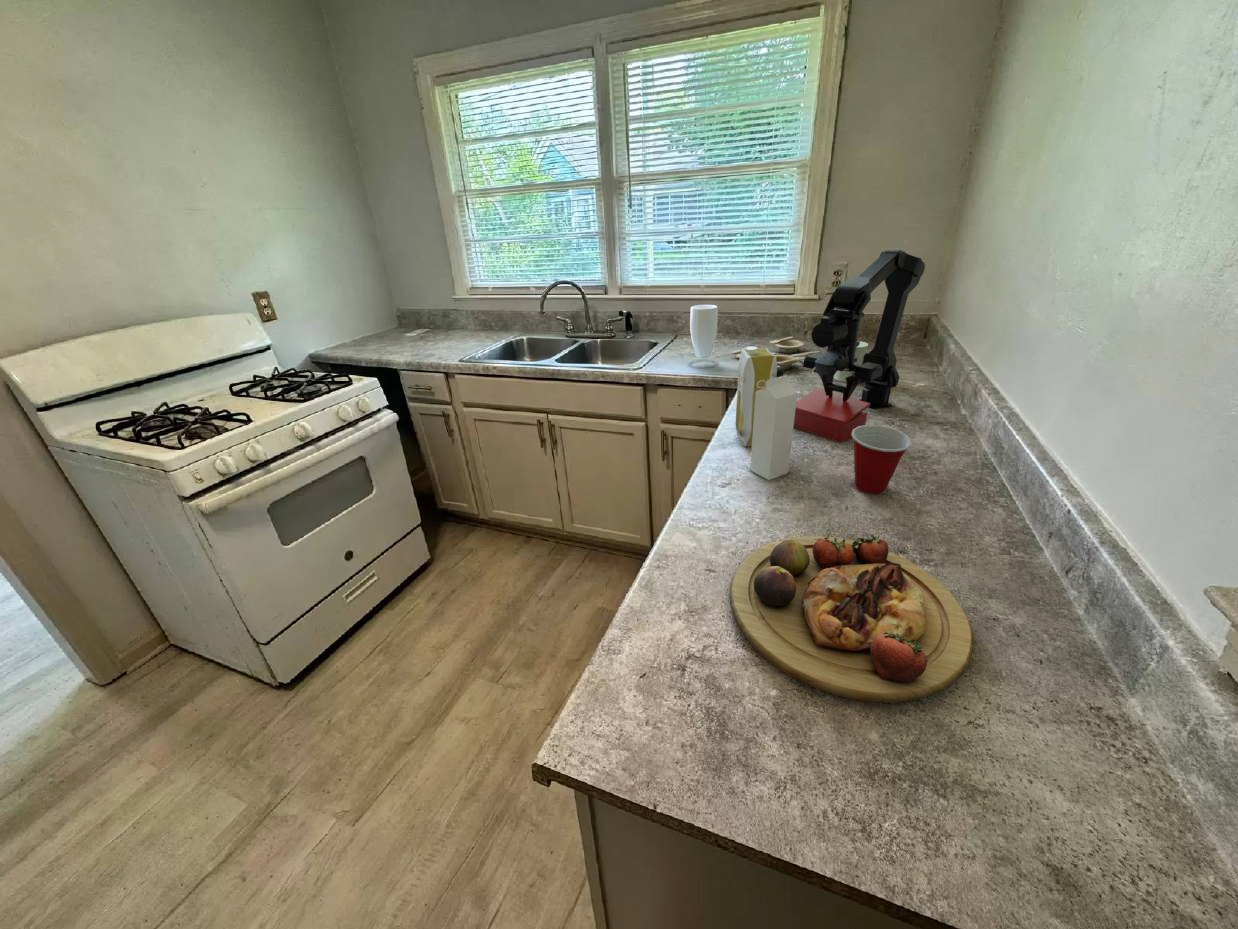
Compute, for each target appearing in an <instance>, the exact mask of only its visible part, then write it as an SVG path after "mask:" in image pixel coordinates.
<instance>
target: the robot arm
mask: <svg viewBox="0 0 1238 929" xmlns="http://www.w3.org/2000/svg"><path fill="white" fill-rule="evenodd" d="M925 270H926V263H925V262H924V261H923V259H922V258H921V257H919V256H918V257H917V256H915V255H912V254H908V253H907V252H906V251H904V250H902V249H885V250H883V251H881V252H880V254H879V256H878V258H876V260H874V261H873V262H872V263H871V264H870V265H869V266H868V267H867V268H866V269H865V270H864V271H863V272H861V273H860V274H859V275H857V277H855V278H852V279H848V280H846V281H845V280H844V282H842V283H840V284H839V285H837V286H836V287H835V289H834V290H833V292H832V294H831V296H830V298H829V300H828V303H827V304H826V307H825V309H824V311H823V313H822V316H823V317H821V318H820V322H819V323H818V324H816V325H815V326H814V327H813V329H812V331H811V341H812V343H813V344H814V346H817V347H818V348H822V349H823V348H824V349H825V348H826V351H825V352H823V353H822V352H821V353H814V354H811V355H808V356H806V357H805V358H804V360H803V362H802V368H805V369H809V370H812V371H813V372H814V373H815V374H817V375H818V376H819V377H820V380H821V382H822V386H823V390H824V392H825V393H826V396H829V390H828V388H827V387H828V384H829V383H833V384H834V380H835V379H834V374H835V373H836V372H837V371H843V370H844V371H849V372H851V376H848V377H846V378H845V379H846V381H847V382H846V385H845V386H846V391H845V401H847V400H848V399H849V398H851V396H852V395H853V393H854V392H855V390H856V388H857V387H858V385H859V384H860V383H864V387H863V388H862V392H861V398H859V399H858V400H859V401H863V402H867V403H870V406H869V407H868V408H870V409H877V408H885V407H892V406H893V403H891V402H889V401H890V396H891V391H892V388H897V385H899V384H898V383H899V381H900V378H901V377H900V375H899V372H898V370H897V367H896V366H897V362H898V359H897V357H896V354H895V351H894V348H895V344H896V341H897V336H898V333H899V330H900V326H901V323H902V319H903V315H904V312H905V309H906V304H907V300H908V298H909V294H910V293H911V292H912V291H913V290H914V289H916V287H917V286H918V285H919V283H920V280H921V279H922V278H921V277H922V276H923V275H924V272H925ZM883 282H884V285H885V288H886V290H887V296H886V300H885V304H884V308H883V311H882V315H881V318H880V321H879V322H880V323H879V327H878V330H877V335H876V338H875V342H874V346H873V348H871V350H870V351H869V352H867V353H866V354H865V355H864V358H863V362H862V365H855V364H854V363H855V362H857V358H856V357H855V352H856V347H857V346H859V344H860V340H858V336H859V331H860V323H861V318H864V317H865V313H864V309H865V308H866V307H867V306H868V304H869V303H870V302H871V301H872V300H871V299H872V293H873V292H874V290H876V288H878V286H879V285H881V284H882V283H883Z"/></svg>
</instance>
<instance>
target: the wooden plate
mask: <svg viewBox="0 0 1238 929" xmlns="http://www.w3.org/2000/svg"><path fill="white" fill-rule="evenodd" d="M869 536H870V538H869V537H868V538H867V537H866V538H864V537H861V538H860V537H857V538H856V539H857V540H855V539H854V540H853V539H848V538H845V537H843V538H842V537H833V536H821V535H807V536H794V537H787V538H783V539H780V540H776V541H773V542H770V543H767V544H765V545H762V546H760V547H759V548H757V549H755V550H753V551H752V552H751V553H749V554H748V555H747V556H746V557H745V558H744V559H743V560H742V561H741V562H740V564H739V565H738V566H737V567H736V569H735V571H734V573H733V575H732V577H731V581H730V586H729V604H730V608H731V612H732V615H733V618H734V621H735V623H736V625H737V627H738V628H739V630H740V631H741V634H742V635H743V636H744V638H745V640H747V642H748V643H749V644H750V645H751V646H752V647H753V649H755V650H756V651H757V652H758V653H759V654H760V655H761V656H762V657H763V658H764V659H765V660H767V661H768V662H769V663H771V664H772V665H773V666H774V667H776V668H777V669H779V671H782V672H783V673H785V674H787V675H788V676H790V677H792V678H793V679H795V680H797V681H800V682H802V683H804V684H805V685H807V686H810V687H812V688H814V689H817V690H819V691H822V692H825V693H829V694H832V695H834V696H839V697H842V698H846V699H851V700H855V701H862V702H870V703H885V704H886V703H889V704H891V703H905V702H912V701H915V700H921V699H924V698H927V697H930V696H933V695H936V694H938V693H941V692H942V691H944V690H946V689H948V688H949V687H950V686H952V685H953V684H955V683H956V682H957V681H958V679H960V677H962V676H963V674H964V673H965V671H966V669H967V668H968V666H969V664H970V662H971V658H972V654H973V650H974V635H973V630H972V625H971V623H970V621H969V619H968V615H967V614H966V612H965V610H964V609H963V607H962V606H961V604H960V603H959V601H958V600H957V599H956V597H955V596H954V595H953V594H952V592H951V591H949V589H948V588H947V587H946V586H945V585H944V584H943V583H942V582H940V580H938V579H937V578H936V577H934V576H933V575H932V574H930V573H929V572H928V571H926V570H925V569H923V568H921V567H920V566H918V565H917V564H915V563H914V562H912V561H910V560H908V559H906V558H904V557H902V556H901V555H898V554H896V553H895V552H892V551H889V545H888V542H887V541H886V540H885V539H884V538H880V535H879V536H875V535H874V533H871V534H870V535H869Z"/></svg>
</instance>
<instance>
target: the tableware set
mask: <svg viewBox="0 0 1238 929" xmlns="http://www.w3.org/2000/svg"><path fill="white" fill-rule="evenodd" d="M769 344H772V345H774V347H776V348H778V350H779V352H781V353H783V354H778V353H777V352H771V353H772V354H773V355H775V356H776V359H777V366H779V367H782V368H783V369H784V370H788V369H790V368H791V367H792V365H795V364H797V363H798V362H801V363H803V360H804V358H805V357H806V356H808V355H811V354H814V353H821V354H822V352H821V350H816V351H808V352H802V353H797V352H798V350H799V349H800V348H803V347H804V346H805V343H804V341H801V340H797V339H795V340H794V336H788V337H785V338H780V339H777V340H770V341H769ZM749 347H752V346H751V345H747V346H745V347H744V348H741V349H738V350H735V351H732V352H731V354H732V355H734V357H735V358H737V359H740V355H741V350H745V349H747V348H749ZM784 353H785V354H784ZM794 353H795V354H794ZM787 354H790V355H787Z"/></svg>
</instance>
